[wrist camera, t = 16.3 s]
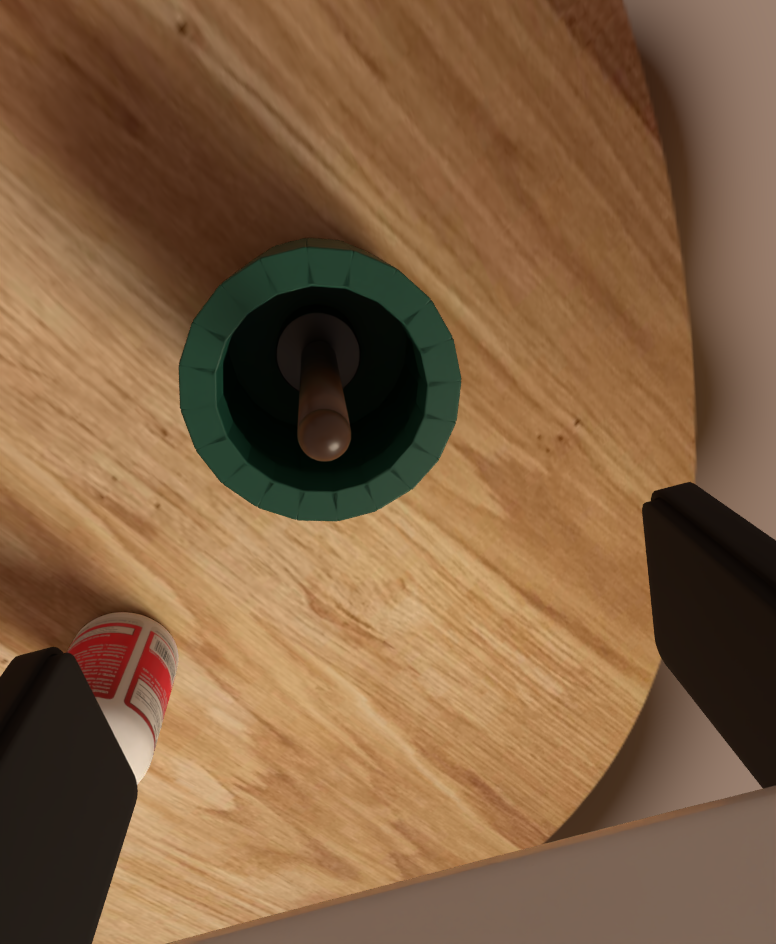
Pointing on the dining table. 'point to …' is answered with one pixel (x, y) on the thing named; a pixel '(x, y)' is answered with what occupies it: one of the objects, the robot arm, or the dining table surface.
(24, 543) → the dining table surface
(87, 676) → the pill bottle
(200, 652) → the dining table surface
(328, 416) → the brown pestle
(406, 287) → the jar
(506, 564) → the dining table surface
